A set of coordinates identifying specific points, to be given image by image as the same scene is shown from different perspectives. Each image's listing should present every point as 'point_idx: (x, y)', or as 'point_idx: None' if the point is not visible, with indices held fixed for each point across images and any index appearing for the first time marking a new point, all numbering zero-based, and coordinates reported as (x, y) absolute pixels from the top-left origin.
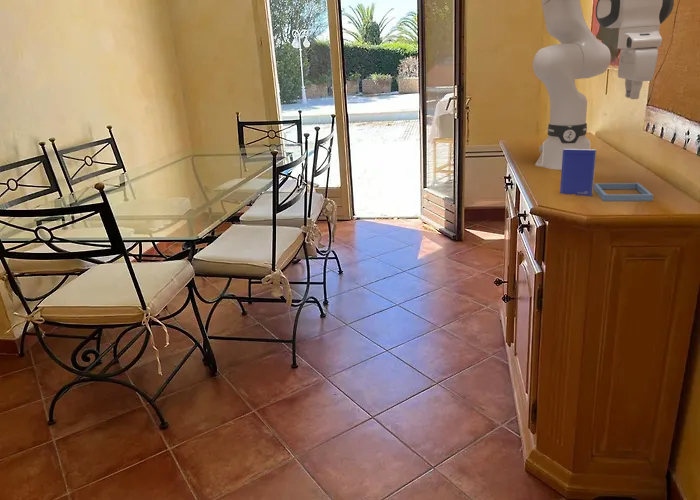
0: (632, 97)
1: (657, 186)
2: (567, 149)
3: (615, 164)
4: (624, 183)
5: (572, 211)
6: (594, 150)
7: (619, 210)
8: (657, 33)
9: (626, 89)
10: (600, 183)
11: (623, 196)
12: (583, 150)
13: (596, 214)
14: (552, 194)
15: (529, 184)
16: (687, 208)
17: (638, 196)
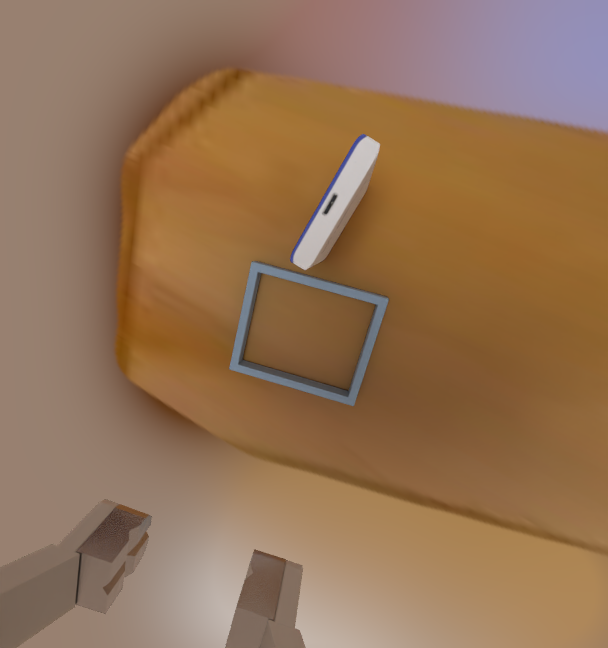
0: (98, 512)
1: (358, 447)
2: (354, 154)
3: None
4: (360, 372)
5: (178, 142)
6: (291, 256)
7: (170, 256)
8: None
9: (271, 633)
10: (382, 315)
11: (243, 306)
12: (312, 216)
13: (146, 190)
14: None
15: (523, 124)
16: (165, 391)
17: (236, 338)
